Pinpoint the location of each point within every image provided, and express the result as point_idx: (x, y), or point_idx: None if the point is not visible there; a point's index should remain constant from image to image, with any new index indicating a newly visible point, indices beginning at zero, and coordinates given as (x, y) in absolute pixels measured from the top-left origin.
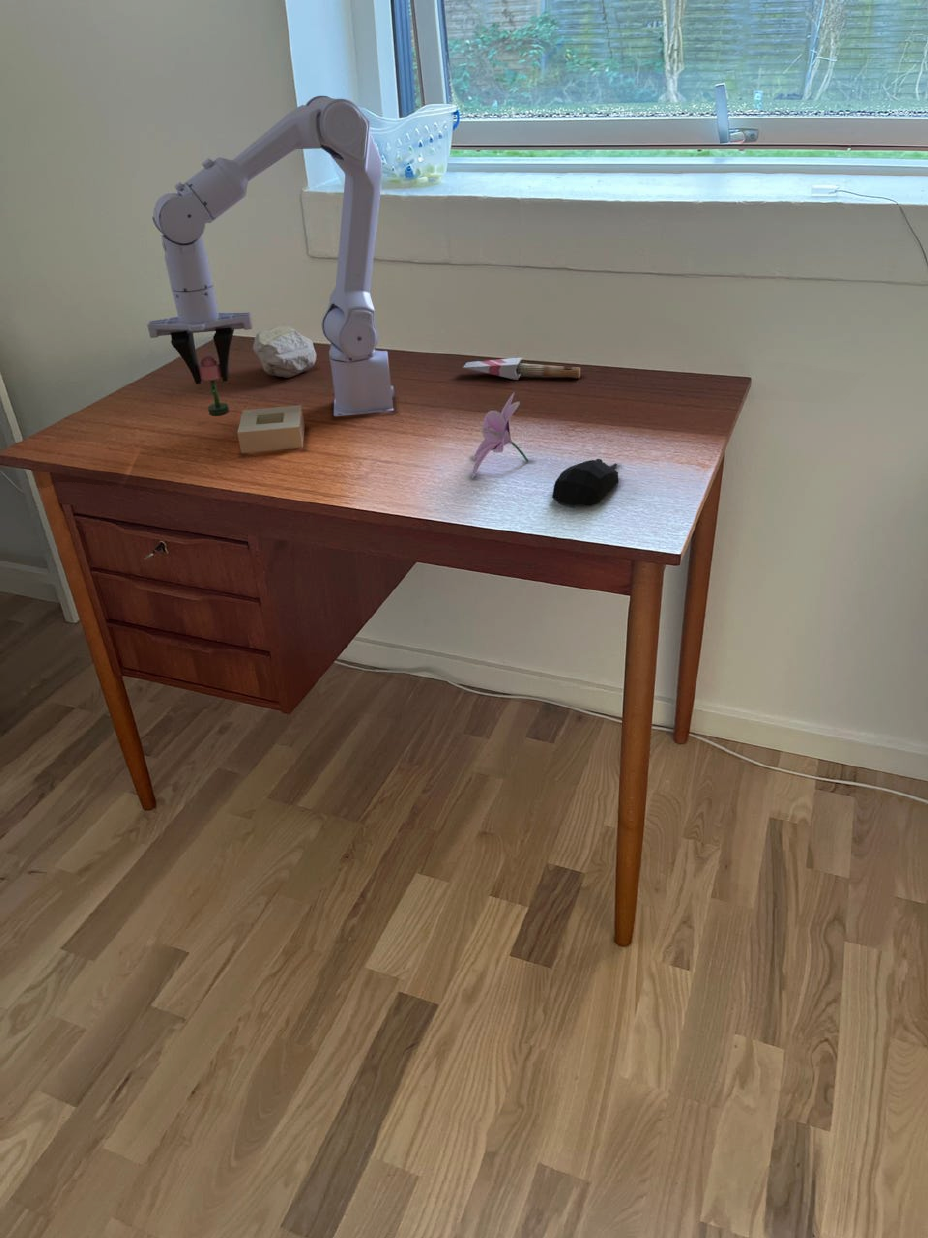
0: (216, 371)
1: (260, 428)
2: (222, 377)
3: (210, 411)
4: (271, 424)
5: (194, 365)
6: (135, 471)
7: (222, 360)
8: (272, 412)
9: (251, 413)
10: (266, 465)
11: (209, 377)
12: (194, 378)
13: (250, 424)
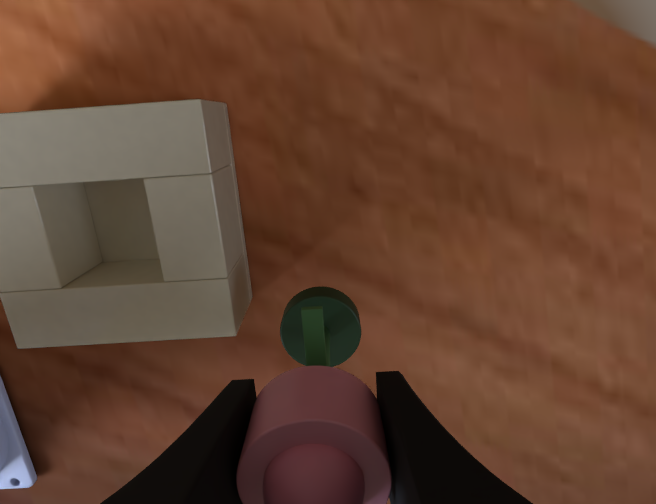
0: (263, 409)
1: (108, 129)
2: (243, 388)
3: (347, 301)
4: (73, 167)
5: (400, 435)
6: (595, 35)
7: (183, 456)
8: (110, 296)
9: (192, 299)
10: (116, 4)
11: (312, 375)
12: (406, 384)
13: (164, 182)
